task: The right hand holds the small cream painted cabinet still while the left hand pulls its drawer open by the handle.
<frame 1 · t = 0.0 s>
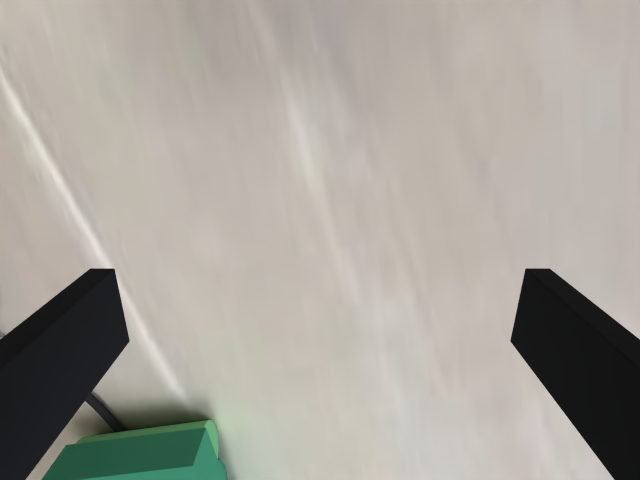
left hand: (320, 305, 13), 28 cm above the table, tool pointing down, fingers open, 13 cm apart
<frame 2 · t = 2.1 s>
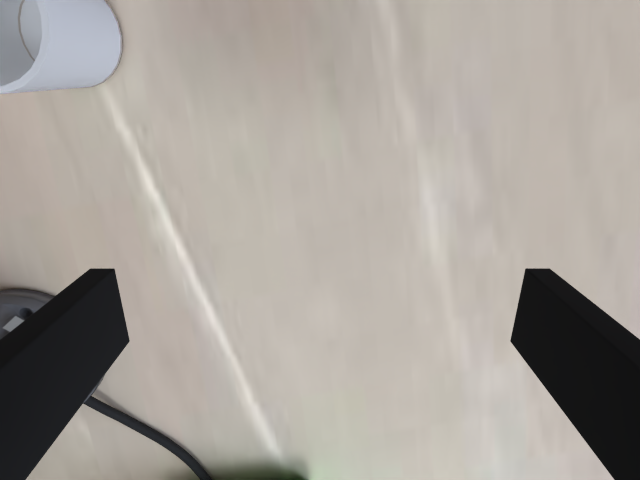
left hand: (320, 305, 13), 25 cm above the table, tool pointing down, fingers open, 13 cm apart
mug: (80, 23, 32), on the table
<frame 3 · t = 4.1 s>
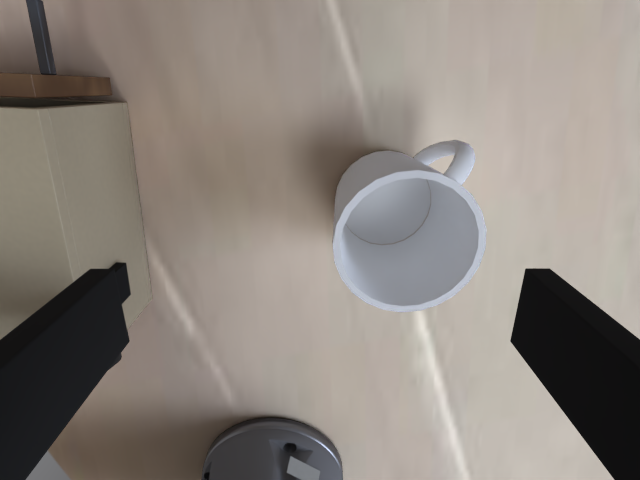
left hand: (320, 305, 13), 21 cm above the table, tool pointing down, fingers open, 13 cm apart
drawer: (24, 160, 27), point 5 cm above the table, slide at 0.5 cm
cabinet: (80, 207, 33), on the table, touching right hand
mug: (390, 188, 32), on the table
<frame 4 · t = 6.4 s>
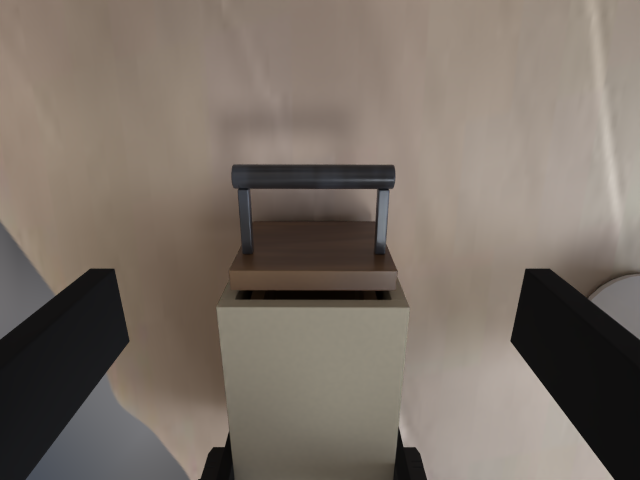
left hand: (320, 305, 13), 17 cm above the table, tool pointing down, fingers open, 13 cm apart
drawer: (314, 316, 27), point 5 cm above the table, slide at 0.5 cm
cabinet: (315, 333, 33), on the table, touching right hand
mug: (632, 305, 32), on the table
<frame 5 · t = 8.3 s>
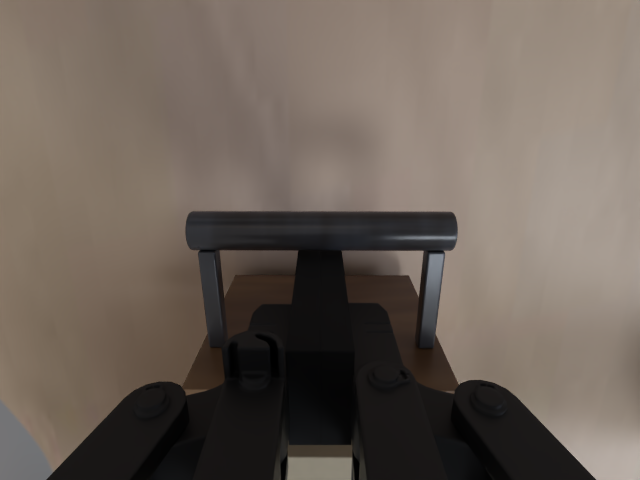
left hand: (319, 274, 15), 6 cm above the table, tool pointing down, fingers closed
drawer: (321, 419, 18), point 5 cm above the table, slide at 0.6 cm, touching left hand
cabinet: (321, 417, 25), on the table, touching right hand
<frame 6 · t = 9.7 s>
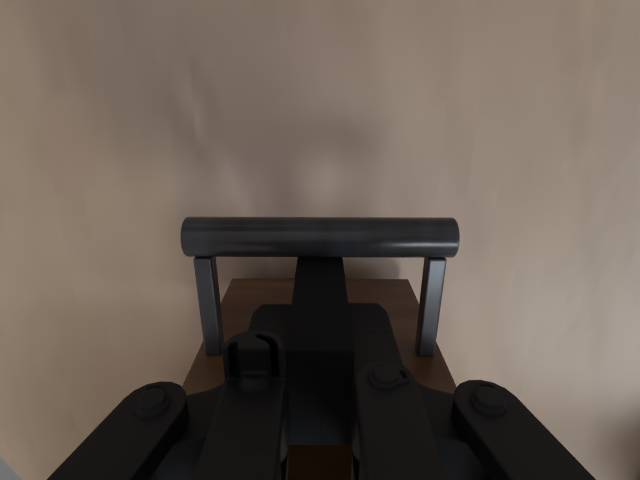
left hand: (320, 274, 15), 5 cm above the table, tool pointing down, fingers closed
drawer: (319, 425, 18), point 5 cm above the table, slide at 7.2 cm, touching left hand
when the right hand's fingers open (5 cm above the table, at t = 11.6 s): cabinet stays where it is, on the table.
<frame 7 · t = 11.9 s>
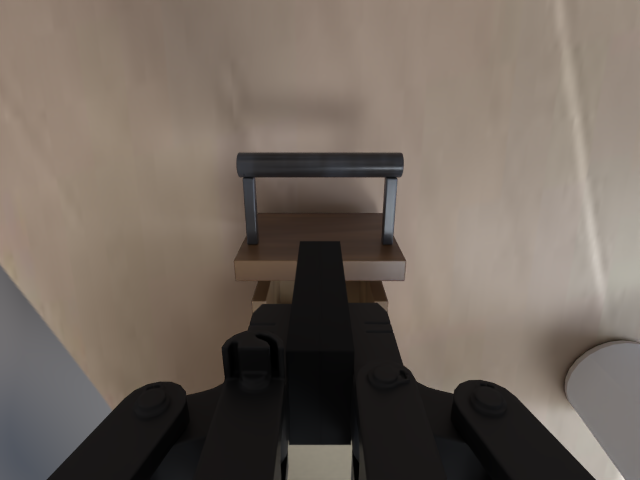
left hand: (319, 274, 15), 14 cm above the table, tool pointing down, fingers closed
drawer: (319, 309, 26), point 5 cm above the table, slide at 7.2 cm
cabinet: (319, 391, 35), on the table
mug: (616, 367, 34), on the table
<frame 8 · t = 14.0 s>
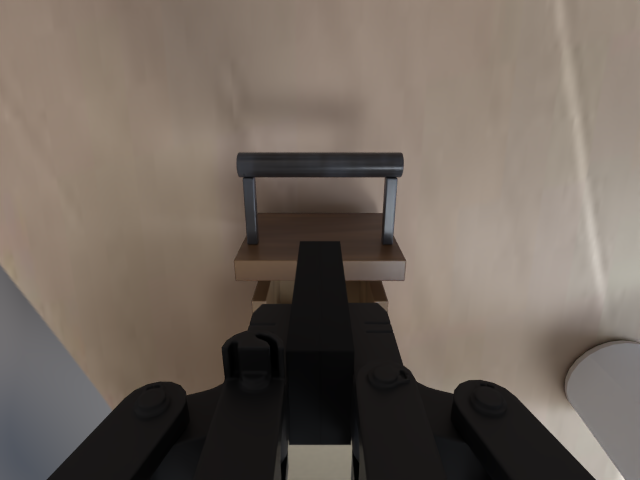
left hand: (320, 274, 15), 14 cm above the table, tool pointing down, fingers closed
drawer: (319, 309, 26), point 5 cm above the table, slide at 7.2 cm
cabinet: (319, 391, 35), on the table
mug: (616, 367, 34), on the table
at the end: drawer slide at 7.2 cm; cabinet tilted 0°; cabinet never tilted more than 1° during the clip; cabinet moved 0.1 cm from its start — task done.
